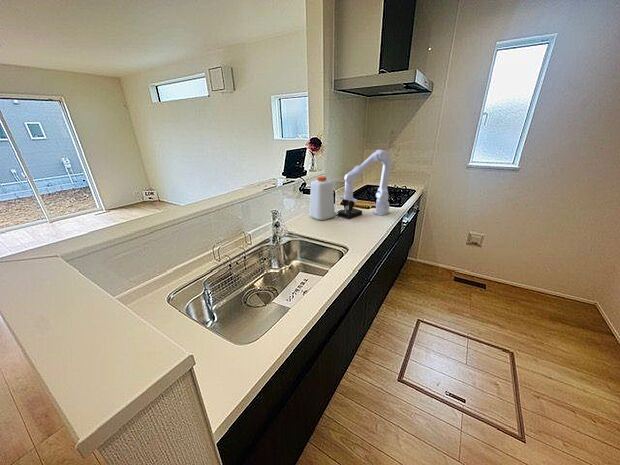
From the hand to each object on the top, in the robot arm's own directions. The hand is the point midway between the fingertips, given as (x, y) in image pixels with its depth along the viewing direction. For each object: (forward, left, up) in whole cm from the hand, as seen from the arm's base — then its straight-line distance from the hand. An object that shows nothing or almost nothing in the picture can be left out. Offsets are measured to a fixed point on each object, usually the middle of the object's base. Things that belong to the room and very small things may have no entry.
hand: (348, 210), depth 179 cm
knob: (0, 0, -1) cm, 1 cm away
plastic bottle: (+16, -10, -4) cm, 19 cm away
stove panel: (-1, +1, -4) cm, 4 cm away
